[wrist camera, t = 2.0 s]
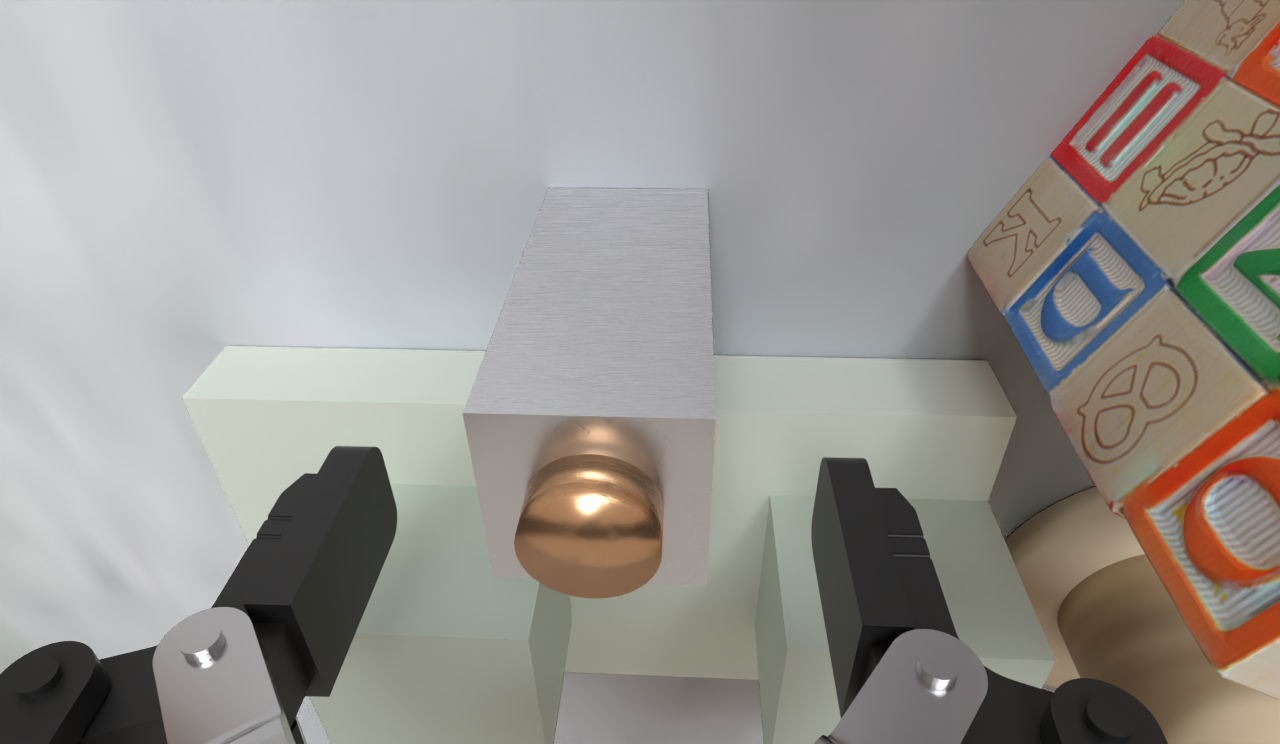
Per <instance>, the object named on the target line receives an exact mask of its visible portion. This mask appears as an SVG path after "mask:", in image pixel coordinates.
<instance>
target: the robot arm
mask: <svg viewBox="0 0 1280 744" xmlns="http://www.w3.org/2000/svg"><path fill="white" fill-rule="evenodd" d="M396 528H397V507H396V503H395V499H394V496H393V492H392V488H391V484H390V481H389V477H388V473H387V470H386V466H385V462H384V459H383V455H382V453H381V451H380V449H379V448H378V447H365V446H335V447H334V448H332V449H331V451H330V452H329V454H328V456H327V457H326V459H325V461H324V463H323V464H322V466H321V468H320V470H319V471H318V473H317V474H311V473H304V474H303V475H302V476H301V477H300V478H299V479H297V480H296V481H295V482H294V483H293V484H292V485H290V486H289V487H288V488H287V489H286V490H284V491H283V492H282V493H281V495H280V496H279V498H278V499H277V501H276V503H275V504H274V506H273V508H272V509H271V511H270V513H269V514H268V519H267V520H265V521H264V523H263V524H262V526H261V527H260V529H259V531H258V532H257V537H256V539H253V541H252V542H251V544H250V546H249V547H248V549H247V551H246V552H245V554H244V555H243V557H242V559H241V560H240V562H239V564H238V565H237V567H236V569H235V570H234V572H233V574H232V575H231V577H230V579H229V580H228V582H227V583H226V585H225V587H224V588H223V590H222V592H221V593H220V595H219V597H218V598H217V600H216V602H215V603H214V605H213V606H212V608H211V609H207V610H203V611H201V612H198V613H195V614H193V615H191V616H189V617H187V618H186V619H184V620H183V621H181V622H179V623H178V624H177V625H176V626H174V627H173V628H172V629H171V630H170V631H169V632H168V633H167V634H166V635H165V636H164V637H163V639H162V640H161V641H160V643H159V645H157V646H154V647H151V648H146V649H142V650H138V651H134V652H130V653H126V654H121V655H117V656H113V657H109V658H105V659H101V660H99V659H98V658H97V656H96V655H95V653H94V652H93V651H92V649H91V648H90V647H89V646H87V645H85V644H83V643H80V642H76V641H63V642H57V643H52V644H49V645H46V646H43V647H40V648H38V649H36V650H34V651H32V652H30V653H28V654H26V655H24V656H23V657H21V658H20V659H18V660H17V661H15V662H14V663H13V664H11V665H10V666H9V667H8V668H6V669H5V670H4V671H3V672H2V673H1V674H0V744H307V743H306V741H305V738H304V735H303V732H302V729H301V726H300V723H299V721H298V719H297V717H296V715H297V713H298V710H299V708H300V706H301V704H302V701H303V699H304V697H305V696H316V697H329V696H330V694H331V692H332V689H333V687H334V684H335V682H336V679H337V677H338V675H339V672H340V670H341V667H342V665H343V662H344V660H345V657H346V655H347V653H348V650H349V648H350V645H351V643H352V640H353V638H354V636H355V633H356V631H357V628H358V626H359V623H360V621H361V619H362V616H363V614H364V611H365V609H366V606H367V604H368V602H369V599H370V597H371V594H372V592H373V589H374V587H375V584H376V582H377V580H378V577H379V575H380V572H381V570H382V567H383V565H384V563H385V560H386V558H387V555H388V553H389V550H390V548H391V546H392V543H393V540H394V537H395V534H396ZM811 539H812V552H813V558H814V564H815V570H816V575H817V581H818V587H819V593H820V599H821V605H822V611H823V617H824V622H825V628H826V634H827V640H828V646H829V652H830V658H831V663H832V669H833V675H834V681H835V687H836V693H837V699H838V705H839V710H840V716H841V720H840V721H839V723H838V724H837V726H836V727H835V729H834V730H833V731H832V733H831V734H830V735H829V736H825V735H822V736H821V737H819V738H818V739H817V740H816V741H815V743H814V744H1168V742H1167V740H1166V738H1165V736H1164V734H1163V731H1162V729H1161V727H1160V726H1159V724H1158V722H1157V720H1156V719H1155V717H1154V716H1153V715H1152V713H1151V712H1150V711H1149V710H1148V709H1147V708H1146V707H1145V706H1144V705H1143V704H1142V703H1141V702H1140V701H1139V700H1137V699H1136V698H1135V697H1134V696H1132V695H1131V694H1129V693H1128V692H1126V691H1125V690H1123V689H1121V688H1119V687H1117V686H1115V685H1112V684H1110V683H1108V682H1104V681H1101V680H1097V679H1090V678H1078V679H1072V680H1069V681H1066V682H1064V683H1063V684H1061V685H1060V686H1059V687H1058V688H1057V689H1056V690H1055V692H1054V693H1053V692H1050V691H1046V690H1043V689H1040V688H1037V687H1034V686H1030V685H1027V684H1024V683H1021V682H1018V681H1015V680H1012V679H1009V678H1006V677H1004V676H1001V675H999V674H997V673H995V672H993V671H992V670H990V669H989V668H987V667H985V666H984V665H983V664H982V662H981V660H980V659H979V658H978V656H977V655H976V654H975V653H974V652H973V651H972V649H971V648H969V647H968V646H967V645H966V644H965V643H963V642H962V641H960V639H959V637H958V635H957V633H956V630H955V627H954V624H953V621H952V618H951V615H950V612H949V609H948V606H947V603H946V600H945V597H944V594H943V591H942V588H941V585H940V582H939V579H938V576H937V573H936V570H935V567H934V564H933V561H932V559H930V552H929V549H928V546H927V543H926V540H925V539H924V538H923V531H922V528H921V525H920V522H919V519H918V516H917V513H916V510H915V509H914V507H913V506H912V505H911V504H910V503H909V502H908V501H907V500H906V498H905V497H904V496H903V495H902V494H901V493H900V492H899V491H898V489H897V488H875V486H874V483H873V479H872V475H871V472H870V468H869V465H868V462H867V460H866V459H865V458H833V457H823V458H822V460H821V464H820V470H819V476H818V483H817V489H816V496H815V502H814V509H813V515H812V526H811Z"/></svg>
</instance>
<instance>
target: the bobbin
mask: <svg viewBox="0 0 1280 744" xmlns="http://www.w3.org/2000/svg"><path fill="white" fill-rule="evenodd" d="M1005 542H1006V545H1007V547H1008V549H1009V552H1010V554H1011V556H1012V559H1013V561H1014V563H1015V566H1016V568H1017V571H1018V573H1019V575H1020V578H1021V580H1022V582H1023V585H1024V587H1025V590H1026V592H1027V594H1028V597H1029V599H1030V601H1031V604H1032V606H1033V608H1034V611H1035V613H1036V616H1037V618H1038V620H1039V623H1040V625H1041V627H1042V630H1043V632H1044V634H1045V637H1046V639H1047V642H1048V644H1049V646H1050V649H1051V651H1052V653H1053V656H1054V658H1055V663H1054V665H1053V667H1052V669H1051V671H1050V673H1049V675H1048V677H1047V679H1046V681H1045V683H1044V685H1047V686H1051V687H1055V688H1058V687H1059V686H1060V685H1061V684H1063V683H1064V682H1066V681H1069V680H1072V679H1078V678H1090V679H1097V680H1101V681H1104V682H1108V683H1110V684H1112V685H1115V686H1117V687H1119V688H1121V689H1123V690H1125V691H1126V692H1128V693H1129V694H1131V695H1132V696H1134V697H1135V698H1136V699H1137V700H1139V701H1140V702H1141V703H1142V704H1143V705H1144V706H1145V707H1146V708H1147V709H1148V710H1149V711H1150V712H1151V713H1152V715H1153V716H1154V717H1155V719H1156V720H1157V722H1158V724H1159V726H1160V727H1161V729H1162V731H1163V734H1164V736H1165V738H1166V740H1167V742H1168V744H1280V700H1278V699H1275V698H1273V697H1270V696H1268V695H1265V694H1263V693H1260V692H1258V691H1256V690H1253V689H1251V688H1248V687H1245V686H1243V685H1240V684H1238V683H1235V682H1233V681H1230V680H1228V679H1225V678H1222V677H1221V676H1220V675H1219V674H1218V673H1217V672H1216V671H1215V670H1214V669H1212V667H1211V666H1210V664H1209V663H1208V661H1207V659H1206V658H1205V656H1204V654H1203V653H1202V651H1201V649H1200V648H1199V646H1198V644H1197V643H1196V641H1195V639H1194V637H1193V636H1192V634H1191V632H1190V631H1189V629H1188V627H1187V625H1186V624H1185V622H1184V620H1183V619H1182V617H1181V615H1180V613H1179V612H1178V610H1177V608H1176V607H1175V605H1174V603H1173V601H1172V600H1171V598H1170V596H1169V595H1168V593H1167V591H1166V589H1165V588H1164V586H1163V584H1162V582H1161V581H1160V579H1159V577H1158V575H1157V574H1156V572H1155V570H1154V569H1153V567H1152V565H1151V563H1150V562H1149V560H1148V558H1147V556H1146V555H1145V553H1144V551H1143V550H1142V548H1141V546H1140V544H1139V543H1138V541H1137V539H1136V537H1135V536H1134V534H1133V532H1132V530H1131V528H1130V526H1129V524H1128V522H1127V520H1126V519H1125V518H1122V517H1120V516H1118V515H1116V514H1115V513H1113V512H1112V511H1111V510H1110V509H1109V507H1108V506H1107V505H1106V503H1105V501H1104V499H1103V497H1102V495H1101V493H1100V491H1099V490H1098V489H1097V487H1093V488H1090V489H1087V490H1085V491H1082V492H1079V493H1076V494H1074V495H1072V496H1070V497H1068V498H1066V499H1063V500H1061V501H1059V502H1057V503H1055V504H1053V505H1051V506H1050V507H1048V508H1046V509H1044V510H1043V511H1041V512H1039V513H1038V514H1036V515H1035V516H1033V517H1032V518H1030V519H1029V520H1028V521H1026V522H1025V523H1023V524H1022V525H1021V526H1020V527H1019V528H1017V529H1016V530H1015V531H1014V532H1013V533H1012V534H1011V535H1009V536H1008V537H1007V538H1006V540H1005Z"/></svg>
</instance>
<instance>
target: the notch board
mask: <svg viewBox="0 0 1280 744" xmlns="http://www.w3.org/2000/svg"><path fill="white" fill-rule="evenodd" d="M485 352H486V351H463V350H411V349H359V348H307V347H255V346H226V347H225V348H224V349H223V350H222V352H221V353H220V354H219V355H218V356H217V357H216V359H215V360H214V361H213V362H212V363H211V364H210V366H209V367H208V368H207V369H206V370H205V371H204V373H203V374H202V375H201V376H200V377H199V378H198V379H197V381H196V382H195V383H194V384H193V385H192V386H191V388H190V389H189V390H188V391H187V392H186V393H185V395H184V396H183V397H182V400H183V402H184V404H185V406H186V409H187V411H188V413H189V415H190V417H191V420H192V422H193V424H194V426H195V428H196V431H197V433H198V435H199V437H200V439H201V441H202V444H203V446H204V448H205V450H206V452H207V455H208V457H209V459H210V461H211V463H212V466H213V468H214V470H215V472H216V474H217V477H218V479H219V481H220V483H221V485H222V488H223V490H224V492H225V494H226V496H227V499H228V501H229V503H230V505H231V507H232V510H233V512H234V514H235V516H236V518H237V521H238V523H239V525H240V527H241V529H242V532H243V534H244V536H245V538H246V540H247V543H248V545H249V546H250V544H251V542H252V541H253V539H256V537H257V532H258V531H259V529H260V527H261V526H262V524H263V523H264V521H265V520H267V519H268V514H269V513H270V511H271V509H272V508H273V506H274V504H275V503H276V501H277V499H278V498H279V496H280V495H281V493H282V492H283V491H284V490H286V489H287V488H288V487H289V486H290V485H292V484H293V483H294V482H295V481H296V480H297V479H299V478H300V477H301V476H302V475H303V474H304V473H311V474H317V473H318V471H319V470H320V468H321V466H322V464H323V463H324V461H325V459H326V457H327V456H328V454H329V452H330V451H331V449H332V448H334V447H335V446H365V447H378V448H379V449H380V451H381V453H382V455H383V459H384V462H385V466H386V470H387V473H388V477H389V481H390V484H391V488H392V492H393V496H394V499H395V503H396V507H397V528H396V534H395V537H394V540H393V543H392V546H391V548H390V550H389V553H388V555H387V558H386V560H385V563H384V565H383V567H382V570H381V572H380V575H379V577H378V580H377V582H376V584H375V587H374V589H373V592H372V594H371V597H370V599H369V602H368V604H367V606H366V609H365V611H364V614H363V616H362V619H361V621H360V623H359V626H358V628H357V631H356V633H355V636H354V638H353V640H352V643H351V645H350V648H349V650H348V653H347V655H346V657H345V660H344V662H343V665H342V667H341V670H340V672H339V675H338V677H337V679H336V682H335V684H334V687H333V689H332V692H331V694H330V696H329V697H316V696H309V697H310V699H311V701H312V704H313V706H314V708H315V710H316V712H317V714H318V716H319V719H320V721H321V723H322V725H323V727H324V729H325V731H326V734H327V736H328V738H329V740H330V742H331V744H554V738H555V731H556V725H557V718H558V711H559V704H560V698H561V691H562V684H563V678H564V672H574V673H598V674H623V675H647V676H671V677H695V678H719V679H743V680H759V689H760V703H761V716H762V730H763V743H764V744H814V743H815V741H816V740H817V739H818V738H819V737H821V736H822V735H825V736H829V735H830V734H831V733H832V731H833V730H834V729H835V727H836V726H837V724H838V723H839V721H840V720H841V716H840V710H839V705H838V699H837V693H836V687H835V681H834V675H833V669H832V663H831V658H830V652H829V646H828V640H827V634H826V628H825V622H824V617H823V611H822V605H821V599H820V593H819V587H818V581H817V575H816V570H815V564H814V558H813V552H812V539H811V526H812V515H813V509H814V502H815V496H816V489H817V483H818V476H819V470H820V464H821V460H822V458H823V457H833V458H865V459H866V460H867V462H868V465H869V468H870V472H871V475H872V479H873V483H874V486H875V488H897V489H898V491H899V492H900V493H901V494H902V495H903V496H904V497H905V498H906V500H907V501H908V502H909V503H910V504H911V505H912V506H913V507H914V509H915V510H916V513H917V516H918V519H919V522H920V525H921V528H922V531H923V538H924V539H925V540H926V543H927V546H928V549H929V552H930V559H932V561H933V564H934V567H935V570H936V573H937V576H938V579H939V582H940V585H941V588H942V591H943V594H944V597H945V600H946V603H947V606H948V609H949V612H950V615H951V618H952V621H953V624H954V627H955V630H956V633H957V635H958V637H959V639H960V641H962V642H963V643H965V644H966V645H967V646H968V647H969V648H971V649H972V651H973V652H974V653H975V654H976V655H977V656H978V658H979V659H980V660H981V662H982V664H983V665H984V666H985V667H987V668H989V669H990V670H992V671H993V672H995V673H997V674H999V675H1001V676H1004V677H1006V678H1009V679H1012V680H1015V681H1018V682H1021V683H1024V684H1027V685H1030V686H1034V687H1037V688H1040V689H1042V687H1043V685H1044V683H1045V681H1046V679H1047V677H1048V675H1049V673H1050V671H1051V669H1052V667H1053V665H1054V663H1055V658H1054V656H1053V653H1052V651H1051V649H1050V646H1049V644H1048V642H1047V639H1046V637H1045V634H1044V632H1043V630H1042V627H1041V625H1040V623H1039V620H1038V618H1037V616H1036V613H1035V611H1034V608H1033V606H1032V604H1031V601H1030V599H1029V597H1028V594H1027V592H1026V590H1025V587H1024V585H1023V582H1022V580H1021V578H1020V575H1019V573H1018V571H1017V568H1016V566H1015V563H1014V561H1013V559H1012V556H1011V554H1010V552H1009V549H1008V547H1007V545H1006V542H1005V540H1004V537H1003V535H1002V533H1001V530H1000V528H999V526H998V523H997V521H996V518H995V516H994V514H993V511H992V509H991V507H990V504H989V502H988V500H989V497H990V494H991V491H992V488H993V486H994V483H995V480H996V477H997V474H998V471H999V468H1000V465H1001V462H1002V460H1003V457H1004V454H1005V451H1006V448H1007V445H1008V442H1009V439H1010V436H1011V434H1012V431H1013V428H1014V425H1015V422H1016V419H1017V416H1016V414H1015V412H1014V410H1013V408H1012V406H1011V404H1010V402H1009V401H1008V399H1007V397H1006V395H1005V393H1004V391H1003V389H1002V387H1001V385H1000V384H999V382H998V380H997V378H996V376H995V374H994V372H993V370H992V368H991V366H990V365H989V363H988V361H983V360H931V359H879V358H827V357H775V356H723V355H714V382H715V410H716V425H715V444H714V462H713V481H712V499H711V517H710V536H709V554H708V573H707V586H700V585H671V584H645V585H643V586H642V587H640V588H638V589H636V590H635V591H632V592H630V593H627V594H624V595H620V596H616V597H611V598H601V599H591V598H581V597H574V596H570V595H566V594H563V593H560V592H557V591H555V590H552V589H550V588H548V587H546V586H544V585H543V584H541V583H539V582H538V581H537V580H529V579H500V578H494V576H493V571H492V565H491V560H490V555H489V550H488V544H487V539H486V534H485V529H484V523H483V518H482V513H481V508H480V502H479V497H478V492H477V487H476V481H475V476H474V471H473V466H472V461H471V455H470V450H469V445H468V440H467V434H466V429H465V424H464V419H463V410H464V408H465V405H466V402H467V400H468V397H469V395H470V392H471V389H472V387H473V384H474V381H475V379H476V376H477V373H478V371H479V368H480V366H481V363H482V360H483V358H484V355H485Z"/></svg>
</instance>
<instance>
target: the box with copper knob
mask: <svg viewBox="0 0 1280 744" xmlns="http://www.w3.org/2000/svg"><path fill="white" fill-rule="evenodd" d="M463 419H464V424H465V429H466V434H467V440H468V445H469V450H470V455H471V461H472V466H473V471H474V476H475V481H476V487H477V492H478V497H479V502H480V508H481V513H482V518H483V523H484V529H485V534H486V539H487V544H488V550H489V555H490V560H491V565H492V571H493V576H494V578H500V579H529V580H537V581H538V582H539V583H541V584H543V585H544V586H546V587H548V588H550V589H552V590H555V591H557V592H560V593H563V594H566V595H570V596H574V597H581V598H591V599H601V598H611V597H616V596H620V595H624V594H627V593H630V592H632V591H635V590H636V589H638V588H640V587H642V586H643V585H645V584H671V585H700V586H707V573H708V554H709V536H710V517H711V499H712V481H713V462H714V444H715V425H716V410H715V382H714V354H713V326H712V298H711V270H710V243H709V215H708V189H644V188H548V189H547V192H546V194H545V197H544V200H543V202H542V205H541V208H540V210H539V213H538V215H537V218H536V221H535V223H534V226H533V229H532V231H531V234H530V237H529V239H528V242H527V244H526V247H525V250H524V252H523V255H522V258H521V260H520V263H519V266H518V268H517V271H516V273H515V276H514V279H513V281H512V284H511V287H510V289H509V292H508V294H507V297H506V300H505V302H504V305H503V308H502V310H501V313H500V316H499V318H498V321H497V323H496V326H495V329H494V331H493V334H492V337H491V339H490V342H489V345H488V347H487V350H486V352H485V355H484V358H483V360H482V363H481V366H480V368H479V371H478V373H477V376H476V379H475V381H474V384H473V387H472V389H471V392H470V395H469V397H468V400H467V402H466V405H465V408H464V410H463Z"/></svg>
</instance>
